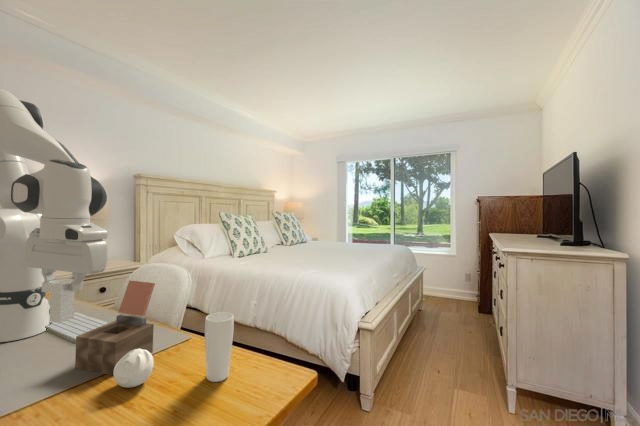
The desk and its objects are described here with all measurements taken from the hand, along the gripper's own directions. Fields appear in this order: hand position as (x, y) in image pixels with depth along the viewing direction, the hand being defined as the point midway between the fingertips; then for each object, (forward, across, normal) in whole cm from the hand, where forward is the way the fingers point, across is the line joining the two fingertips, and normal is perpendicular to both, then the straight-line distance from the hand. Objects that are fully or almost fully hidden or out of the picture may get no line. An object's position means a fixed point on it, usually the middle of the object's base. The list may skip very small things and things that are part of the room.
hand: (63, 289), depth 68 cm
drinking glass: (+21, +34, +11) cm, 42 cm away
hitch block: (+21, +4, +11) cm, 24 cm away
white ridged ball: (+21, +18, +3) cm, 28 cm away
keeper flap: (+6, +4, +17) cm, 18 cm away
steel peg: (+7, 0, 0) cm, 7 cm away
